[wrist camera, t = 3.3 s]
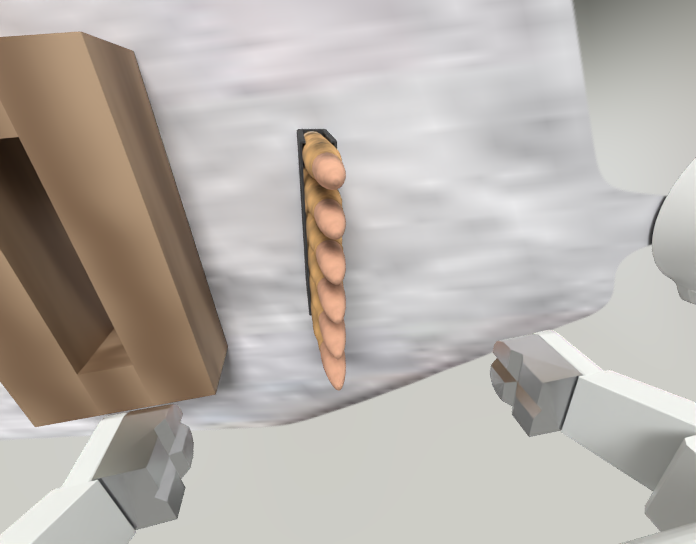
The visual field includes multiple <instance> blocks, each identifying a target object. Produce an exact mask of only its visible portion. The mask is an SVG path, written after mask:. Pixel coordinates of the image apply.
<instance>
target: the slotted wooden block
mask: <svg viewBox="0 0 696 544" xmlns="http://www.w3.org/2000/svg"><path fill="white" fill-rule="evenodd" d="M227 348H228V346H227V343H226V340H225V337H224V333H223V330H222V327H221V324H220V321H219V318H218V315H217V312H216V308H215V305H214V302H213V299H212V296H211V293H210V290H209V286H208V283H207V280H206V277H205V274H204V271H203V268H202V265H201V261H200V258H199V255H198V252H197V249H196V246H195V243H194V240H193V236H192V233H191V230H190V227H189V224H188V221H187V218H186V214H185V211H184V208H183V205H182V202H181V199H180V196H179V193H178V189H177V186H176V183H175V180H174V177H173V174H172V171H171V168H170V164H169V161H168V158H167V155H166V152H165V149H164V146H163V142H162V139H161V136H160V133H159V130H158V127H157V124H156V121H155V117H154V114H153V111H152V108H151V105H150V102H149V99H148V96H147V92H146V89H145V86H144V83H143V80H142V77H141V74H140V70H139V67H138V64H137V61H136V58H135V55H134V52H133V51H132V50H129V49H126V48H124V47H121V46H118V45H116V44H113V43H110V42H108V41H105V40H102V39H99V38H97V37H94V36H91V35H89V34H86V33H83V32H67V33H53V34H38V35H24V36H9V37H0V382H1V383H2V384H3V386H4V387H5V388H6V390H7V391H8V392H9V394H10V395H11V396H12V398H13V399H14V400H15V402H16V403H17V404H18V405H19V407H20V408H21V409H22V411H23V412H24V413H25V415H26V416H27V417H28V419H29V420H30V421H31V422H32V424H33V425H34V426H35V427H39V426H44V425H50V424H55V423H61V422H66V421H72V420H77V419H83V418H89V417H94V416H100V415H105V414H111V413H116V412H122V411H127V410H133V409H138V408H144V407H149V406H155V405H160V404H166V403H171V402H177V401H182V400H188V399H193V398H199V397H205V396H210V395H216V391H217V387H218V383H219V379H220V375H221V371H222V368H223V364H224V360H225V356H226V352H227Z"/></svg>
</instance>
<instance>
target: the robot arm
mask: <svg viewBox="0 0 696 544" xmlns="http://www.w3.org/2000/svg"><path fill="white" fill-rule="evenodd" d="M652 252H653V257H654V260H655V263H656V265H657V267H658V268H659V270H660V271H661V272H662V273H663V274H664V275H666V276H667V277H669V278H670V279H672V280H673V281H674V282H675V283H676V285H677V289H678V293H679V295H680V297H681V298H682V299H683V300H685V301H687V302H690V303H693V304H696V158H695V159H694V160H693V161H692V162H691V163H690V164H689V166H688V167H687V168H686V169H685V170H684V172H683V173H682V174H681V175H680V177H679V178H678V180H677V181H676V182H675V184H674V185H673V187H672V189H671V190H670V192H669V194H668V195H667V197H666V199H665V201H664V203H663V205H662V207H661V209H660V212H659V214H658V217H657V220H656V223H655V227H654V231H653V238H652ZM493 353H494V355H495V356H496V357H497V359H496V360H495V361H494V362H493V363H492V365H491V370H490V377H491V382H492V385H493V387H494V390H495V391H496V393H497V395H498V396H499V398H500V399H501V400H502V401H504V402H505V403H508V404H509V405H511V406H512V415H513V416H514V418H515V419H516V420H517V422H518V423H519V424H520V426H521V427H522V428H523V430H524V431H525V432H526V434H527V435H528V436H529V437H531V436H536V435H541V434H545V433H551V432H556V431H561V430H562V431H561V433H563V434H564V435H566V436H568V437H569V438H571V439H572V440H574V441H575V442H577V443H578V444H580V445H582V446H583V447H585V448H586V449H588V450H589V451H591V452H593V453H594V454H596V455H597V456H599V457H600V458H602V459H603V460H605V461H607V462H608V463H610V464H611V465H613V466H615V467H616V468H617V469H619V470H621V471H622V472H624V473H625V474H627V475H628V476H630V477H631V478H633V479H635V480H636V481H638V482H639V483H641V484H643V485H644V486H646V487H647V488H649V489H650V490H652V491H653V493H652V495H651V497H650V498H649V500H648V502H647V503H646V505H645V514H646V516H647V517H648V518H649V519H650V520H651V521H652V522H653V524H654V525H655V526H656V527H657V528H658V529H659V530H660V531H661V532H659V533H655V534H652V535H648V536H645V537H641V538H638V539H634V540H631V541H628V542H624V543H620V544H696V402H694V401H691V400H688V399H686V398H683V397H680V396H678V395H675V394H673V393H670V392H667V391H665V390H662V389H659V388H657V387H654V386H651V385H649V384H646V383H643V382H640V381H638V380H635V379H632V378H630V377H627V376H625V375H622V374H619V373H617V372H614V371H611V370H607V371H604V370H602V369H601V368H600V367H598V366H597V365H596V364H595V363H594V362H592V361H591V360H590V359H589V358H588V357H586V356H585V355H584V354H583V353H581V352H580V351H579V350H578V349H577V348H575V347H574V346H573V345H572V344H570V343H569V342H568V341H567V340H566V339H564V338H563V337H562V336H561V335H559V334H558V333H557V332H555V331H552V330H546V331H542V332H537V333H532V334H528V335H523V336H518V337H513V338H508V339H503V340H498V341H497V342H496V343H495V345H494V348H493ZM182 415H183V413H182V412H181V410H180V408H179V406H178V405H176V404H170V405H164V406H159V407H153V408H147V409H141V410H135V411H130V412H126V413H120V414H114V415H108V416H106V417H105V418H103V419H102V420H101V421H100V422H99V424H98V425H97V427H96V429H95V430H94V432H93V434H92V436H91V437H90V439H89V441H88V442H87V444H86V446H85V448H84V449H83V451H82V453H81V454H80V456H79V458H78V460H77V461H76V463H75V465H74V467H73V468H72V470H71V471H70V473H69V475H68V477H67V478H66V480H65V482H64V484H63V485H62V487H61V488H57V489H53V490H52V491H51V492H49V493H48V494H47V495H46V496H45V497H44V498H43V499H41V500H40V501H39V502H38V503H37V504H36V505H34V506H33V507H32V508H31V509H30V510H29V511H28V512H26V513H25V514H24V515H23V516H22V517H20V518H19V519H18V520H17V521H16V522H15V523H14V524H13V525H11V526H10V527H9V528H8V529H7V530H5V531H4V532H3V533H2V534H1V535H0V544H128V543H129V541H130V540H131V539H132V537H133V536H134V535H135V533H136V531H135V530H138V529H141V528H145V527H149V526H153V525H157V524H160V523H164V522H168V521H172V520H175V519H177V518H178V514H179V510H180V506H181V503H182V499H183V495H184V491H185V486H184V484H183V482H182V480H181V479H182V477H183V476H184V475H185V474H186V473H187V471H188V470H189V469H190V467H191V462H192V459H193V445H194V442H193V438H192V433H191V431H190V429H189V427H188V426H186V425H184V424H182V423H181V419H182Z"/></svg>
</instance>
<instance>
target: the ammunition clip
mask: <svg viewBox="0 0 696 544" xmlns="http://www.w3.org/2000/svg"><path fill="white" fill-rule="evenodd" d="M297 141H298V158H299V174H300V191H301V207H302V224H303V240H304V257H305V273H306V286H307V296H308V305H309V314H310V315H312V321H313V330H314V334H315V336H316V338H317V341H318V345H319V350H320V353H321V359H322V363H323V367H324V370H325V372H326V375H327V377H328V379H329V381H330V382H331V384H332V385H333V387H334V388H335V389H336V390H341V388H342V386H343V384H344V380H345V372H346V362H345V352H344V349H345V342H346V332H345V323H344V319H343V318H344V315H345V308H346V299H345V291H344V287H343V279H344V276H345V270H346V263H345V256H344V253H343V247H342V236H343V234H344V231H345V227H346V220H345V215H344V212H343V208H342V199H341V196H340V193H339V192H338V190H337V189H338V188H340V187H341V186H342V185H343V184H344V181H345V178H346V172H345V168H344V165H343V163H342V159H341V156H340V153H339V151H338V150H337V141H336V139H335V138H334V137H333V136H332V135H331V134H330V133H329V132H328V131H327V130H326V129H298V130H297Z"/></svg>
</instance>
